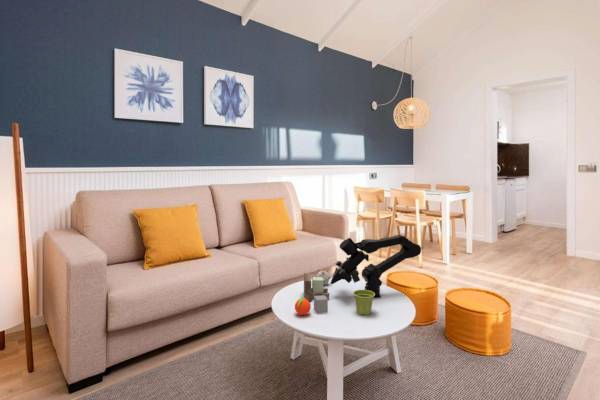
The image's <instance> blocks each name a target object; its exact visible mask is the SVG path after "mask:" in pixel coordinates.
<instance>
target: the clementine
mask: <svg viewBox="0 0 600 400" xmlns="http://www.w3.org/2000/svg"><path fill="white" fill-rule="evenodd" d="M311 308H312V306H311V302H309V301H308V300H307V299H304V297H303V298H302V297H301V298H299V299H298V300H296V302H295V303H294V311H295V312H296V313H297V314H298V315H301V316H305V315H307V314H309V313H310V311H311Z"/></svg>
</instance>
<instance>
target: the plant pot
mask: <svg viewBox="0 0 600 400" xmlns="http://www.w3.org/2000/svg"><path fill="white" fill-rule="evenodd" d="M352 295H353V297H354V301H355V308H356V309H355V310H356V313H357V314H359V315H364V316H368V315H370V314H371V313H372V308H373V300H374V299H375V298H374V296H375V293H374V292H372V291H369V290H365V289H357V290H354V291H353V292H352Z"/></svg>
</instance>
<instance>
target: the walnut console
mask: <svg viewBox="0 0 600 400" xmlns="http://www.w3.org/2000/svg"><path fill="white" fill-rule="evenodd" d="M328 291H329V290H328V287H323V293H312V276H311V273H309V272H308V273H305V272H304V273H303V296H304V297H303V298H304V299H307V300H308V301H309V302H310V303H311V302H312V301H314V296H322V295H325V296H326V298H327V299H328V301H330V293H329V292H328Z"/></svg>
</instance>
